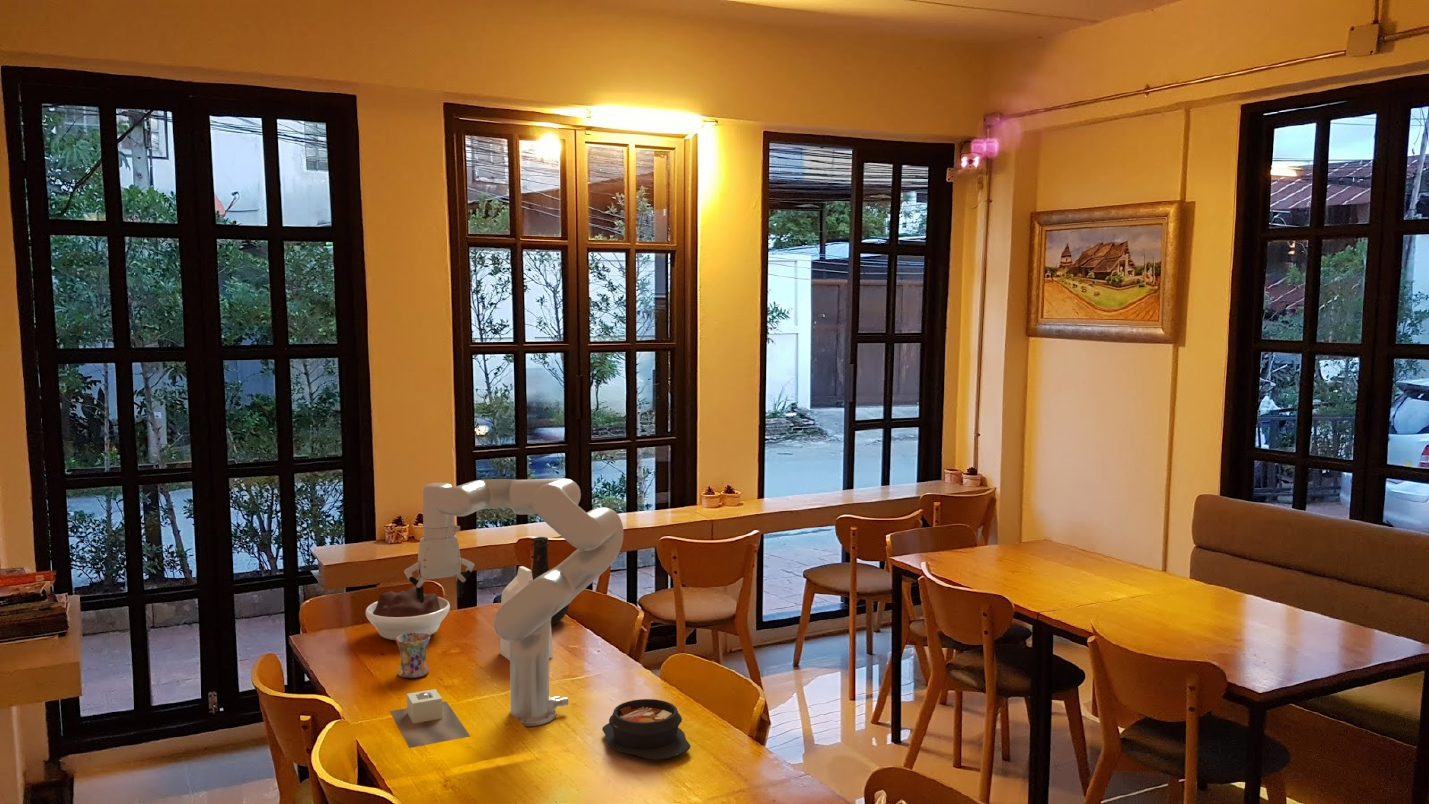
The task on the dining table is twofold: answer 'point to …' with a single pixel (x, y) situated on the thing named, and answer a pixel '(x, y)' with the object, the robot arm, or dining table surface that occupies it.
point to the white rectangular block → (424, 706)
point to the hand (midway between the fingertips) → (440, 599)
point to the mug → (413, 654)
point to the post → (423, 695)
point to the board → (430, 727)
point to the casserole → (646, 729)
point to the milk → (511, 590)
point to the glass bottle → (544, 569)
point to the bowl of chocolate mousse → (406, 613)
